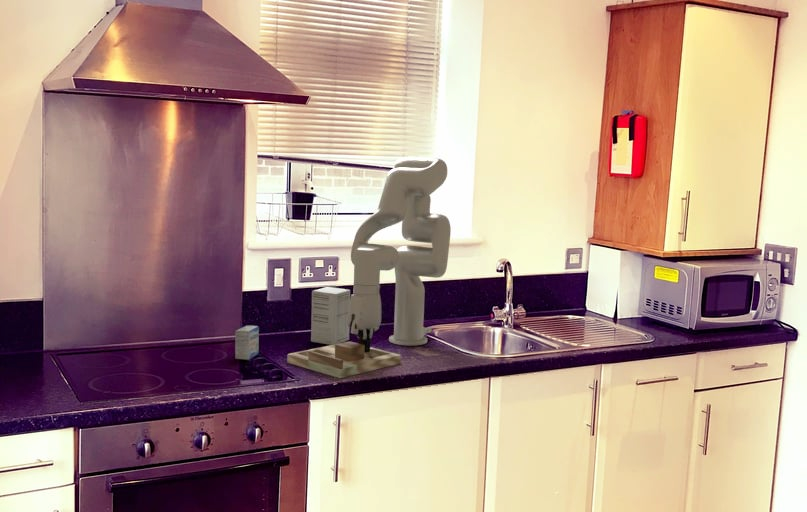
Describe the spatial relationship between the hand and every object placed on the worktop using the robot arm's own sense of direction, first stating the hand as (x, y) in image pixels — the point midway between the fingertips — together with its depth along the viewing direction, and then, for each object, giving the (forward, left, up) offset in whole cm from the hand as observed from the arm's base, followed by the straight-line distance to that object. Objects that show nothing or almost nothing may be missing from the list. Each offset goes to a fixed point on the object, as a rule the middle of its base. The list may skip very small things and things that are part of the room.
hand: (364, 351), depth 259 cm
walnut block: (+6, 0, -1) cm, 6 cm away
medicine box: (+21, -28, -4) cm, 35 cm away
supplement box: (-12, -27, -4) cm, 30 cm away
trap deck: (+4, -4, -4) cm, 7 cm away
